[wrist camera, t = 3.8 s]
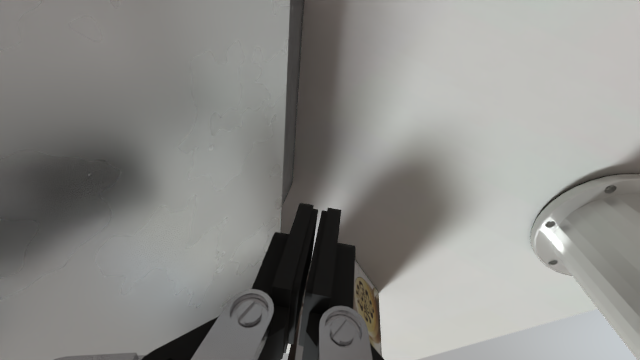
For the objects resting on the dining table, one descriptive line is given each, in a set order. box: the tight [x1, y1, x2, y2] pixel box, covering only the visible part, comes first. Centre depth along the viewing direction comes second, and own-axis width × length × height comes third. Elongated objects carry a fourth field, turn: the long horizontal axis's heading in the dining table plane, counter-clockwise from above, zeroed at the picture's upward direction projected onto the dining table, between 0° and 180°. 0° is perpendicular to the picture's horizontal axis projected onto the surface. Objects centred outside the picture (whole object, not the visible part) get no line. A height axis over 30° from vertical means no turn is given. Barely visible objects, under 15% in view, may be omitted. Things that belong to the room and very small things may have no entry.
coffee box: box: [288, 261, 382, 360], centre depth 31 cm, size 9×6×16 cm
